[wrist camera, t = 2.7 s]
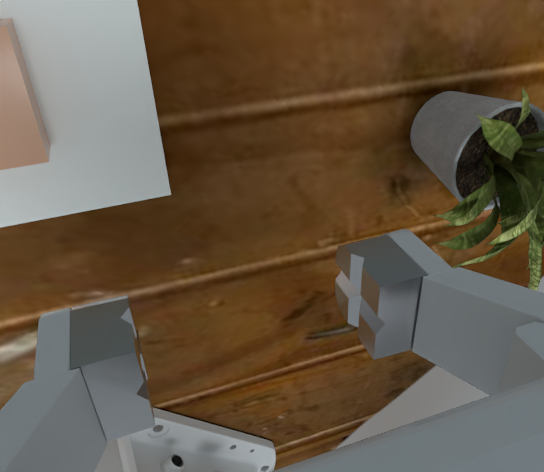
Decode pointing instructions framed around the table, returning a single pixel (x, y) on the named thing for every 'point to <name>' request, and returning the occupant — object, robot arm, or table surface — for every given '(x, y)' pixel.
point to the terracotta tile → (18, 107)
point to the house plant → (487, 167)
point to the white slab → (85, 110)
